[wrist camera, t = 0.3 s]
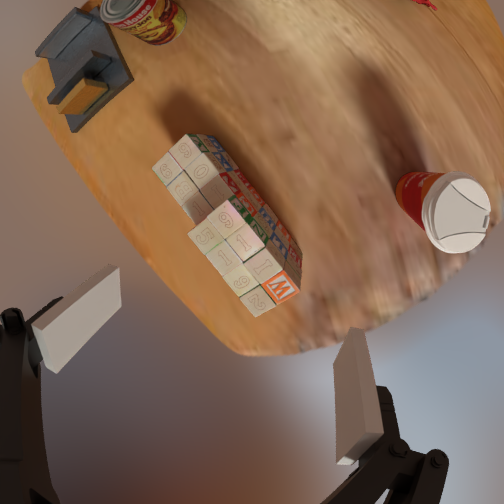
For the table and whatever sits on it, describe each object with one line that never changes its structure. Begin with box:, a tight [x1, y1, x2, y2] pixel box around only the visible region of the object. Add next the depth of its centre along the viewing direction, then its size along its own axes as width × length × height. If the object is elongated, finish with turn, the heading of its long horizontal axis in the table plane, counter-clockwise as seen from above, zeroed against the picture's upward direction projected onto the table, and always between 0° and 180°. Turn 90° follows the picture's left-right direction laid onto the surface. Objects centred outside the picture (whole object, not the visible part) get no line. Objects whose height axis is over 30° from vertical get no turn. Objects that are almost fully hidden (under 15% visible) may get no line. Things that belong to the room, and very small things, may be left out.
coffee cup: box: [396, 171, 491, 253], centre depth 28 cm, size 8×8×15 cm
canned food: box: [100, 0, 187, 46], centre depth 27 cm, size 8×8×12 cm
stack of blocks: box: [152, 134, 302, 317], centre depth 35 cm, size 21×6×12 cm, turn 38°
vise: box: [35, 6, 134, 133], centre depth 34 cm, size 22×15×6 cm
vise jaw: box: [47, 50, 111, 115], centre depth 34 cm, size 6×12×6 cm, turn 118°
